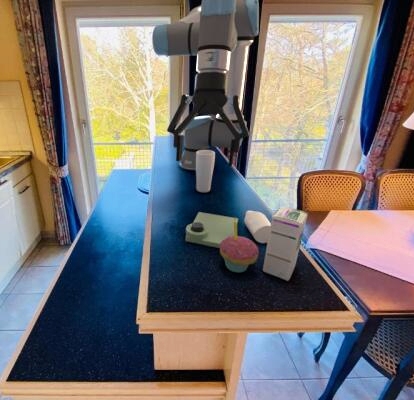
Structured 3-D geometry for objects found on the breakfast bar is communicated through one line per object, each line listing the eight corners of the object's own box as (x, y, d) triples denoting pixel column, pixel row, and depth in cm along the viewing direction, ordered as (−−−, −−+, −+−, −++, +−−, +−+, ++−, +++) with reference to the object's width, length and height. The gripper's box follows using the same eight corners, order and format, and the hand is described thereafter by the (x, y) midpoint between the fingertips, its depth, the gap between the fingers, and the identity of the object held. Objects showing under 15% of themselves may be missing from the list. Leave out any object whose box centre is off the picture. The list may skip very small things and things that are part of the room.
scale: (197, 215, 84) (197, 207, 82) (237, 222, 79) (238, 213, 78) (183, 241, 71) (183, 232, 69) (230, 251, 66) (232, 241, 65)
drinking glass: (193, 192, 99) (195, 154, 93) (195, 186, 105) (197, 149, 99) (211, 194, 98) (214, 155, 91) (212, 187, 104) (215, 150, 97)
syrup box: (288, 282, 57) (304, 223, 50) (260, 271, 60) (272, 215, 54) (294, 267, 61) (309, 212, 54) (268, 258, 64) (279, 204, 58)
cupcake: (210, 265, 62) (214, 221, 56) (230, 250, 67) (236, 208, 62) (243, 284, 56) (252, 236, 51) (262, 265, 61) (271, 221, 56)
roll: (258, 220, 81) (260, 203, 78) (274, 242, 70) (278, 224, 67) (238, 220, 80) (240, 204, 78) (252, 243, 70) (255, 225, 67)
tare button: (193, 226, 73) (193, 221, 72) (203, 228, 72) (204, 223, 71) (190, 231, 70) (190, 226, 69) (201, 233, 69) (201, 228, 68)
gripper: (156, 71, 63) (154, 160, 69) (268, 69, 55) (253, 170, 61) (167, 76, 70) (163, 156, 76) (268, 75, 61) (254, 165, 68)
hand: (203, 163), depth 69 cm, fingers open, 13 cm apart
